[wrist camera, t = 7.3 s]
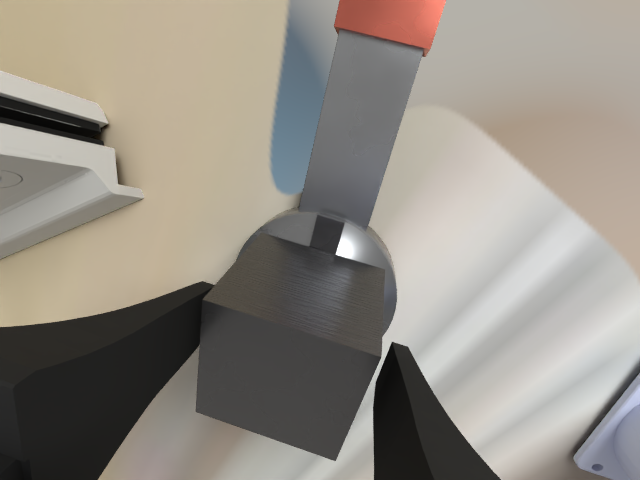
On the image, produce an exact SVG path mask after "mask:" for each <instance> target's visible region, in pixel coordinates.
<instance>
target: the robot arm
mask: <svg viewBox="0 0 640 480" xmlns="http://www.w3.org/2000/svg"><path fill="white" fill-rule="evenodd" d="M214 286H215V285H213V284H209V283H206V282H203V281H202V282H199V283H196V284H193V285H190V286H187V287H185V288H182V289H180V290H177V291H174V292H171V293H169V294H166V295H163V296H160V297H158V298H155V299H152V300H149V301H145V302H142V303H139V304H136V305H133V306H130V307H126V308H123V309H119V310H115V311H111V312H107V313H103V314H98V315H94V316H88V317H83V318H77V319H71V320H66V321H59V322H52V323H44V324H35V325H25V326H14V327H0V480H98V478H99V477H100V475H101V474H102V472H103V471H104V469H105V468H106V466H107V465H108V463H109V462H110V460H111V458H112V457H113V455H114V454H115V452H116V451H117V449H118V448H119V447H120V445H121V444H122V442H123V441H124V439H125V438H126V436H127V435H128V433H129V432H130V430H131V429H132V428H133V426H134V425H135V423H136V422H137V421H138V419H139V418H140V416H141V415H142V414H143V412H144V411H145V409H146V408H147V407H148V405H149V404H150V403H151V401H152V400H153V399H154V398H155V396H156V395H157V394H158V393H159V391H160V390H161V389H162V388H163V387H164V386H165V385H166V383H167V382H168V381H169V380H170V379H171V378H172V376H173V375H174V374H175V373H176V372H177V371H178V370H179V368H180V367H181V366H182V365H183V364H184V363H185V362H186V360H187V359H188V358H189V357H190V356H191V355H192V353H193V352H194V351H195V350H196V349H197V347H198V346H199V344H200V332H201V315H202V299H203V298H204V297H205V296H206V295H207V294H208V293H209V291H210V290H211V289H212V288H213V287H214ZM373 430H374V480H501V479H500V478H499V477H498V476H497V475H496V474H495V473H494V472H493V471H492V470H491V468H490V467H489V466H488V465H487V464H486V463H485V462H484V460H483V459H482V458H481V457H480V456H479V455H478V454H477V452H476V451H475V450H474V449H473V448H472V446H471V445H470V444H469V443H468V442H467V440H466V439H465V438H464V436H463V435H462V434H461V432H460V431H459V430H458V428H457V427H456V426H455V425H454V423H453V422H452V420H451V419H450V418H449V416H448V415H447V413H446V412H445V410H444V409H443V407H442V406H441V404H440V403H439V401H438V399H437V398H436V396H435V395H434V393H433V391H432V390H431V388H430V386H429V385H428V383H427V381H426V379H425V378H424V376H423V374H422V372H421V370H420V369H419V367H418V365H417V363H416V361H415V359H414V357H413V356H412V354H411V352H410V350H409V348H408V347H407V346H403V345H400V344H397V343H394V342H392V343H391V346H390V348H389V351H388V353H387V356H386V358H385V361H384V363H383V366H382V368H381V371H380V373H379V376H378V378H377V381H376V386H375V395H374V405H373ZM573 458H574V461H575V463H576V465H577V466H578V467H579V468H580V469H582V470H585V471H588V472H591V473H594V474H597V475H600V476H603V477H606V478H609V479H612V480H640V373H639V374H638V376H637V377H636V378H635V380H634V381H633V382H632V383H631V385H630V386H629V387H628V388H627V390H626V391H625V392H624V393H623V395H622V396H621V397H620V398H619V400H618V401H617V402H616V403H615V405H614V406H613V407H612V408H611V410H610V411H609V412H608V414H607V415H606V416H605V417H604V419H603V420H602V421H601V422H600V424H599V425H598V426H597V427H596V429H595V430H594V431H593V432H592V434H591V435H590V436H589V437H588V439H587V440H586V441H585V442H584V444H583V445H582V446H581V448H580V449H579V450H578V451H577V453H576V454H575V455H574V457H573Z"/></svg>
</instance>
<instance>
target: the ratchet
mask: <svg viewBox="0 0 640 480" xmlns="http://www.w3.org/2000/svg"><path fill="white" fill-rule="evenodd" d="M445 2H446V0H340V1H339V6H338V10H337V15H336V20H335V24H334V27H335V29H336V31H337V33H338V39H337V44H336V48H335V52H334V57H333V61H332V66H331V70H330V74H329V79H328V84H327V88H326V92H325V96H324V101H323V105H322V110H321V114H320V119H319V123H318V127H317V132H316V136H315V140H314V145H313V149H312V153H311V158H310V162H309V167H308V171H307V175H306V180H305V184H304V189H303V193H302V197H301V202H300V206H299V207H297V208H293V209H290V210H287V211H284V212H282V213H280V214H278V215H276V216H275V217H273V218H272V219H270V220H269V221H268V222H267V223H265V224H264V225H263V226H262V227H261V228H260V229H258V230H257V231H256V232H255V233H254V234H253V235H252V236H251V237H250V238H249V239H248V240H247V242H246V243H245V244H244V246H243V247H242V249H241V251H240V253H239V255H238V258H237V260H238V259H239V258H240V256H241V255H242V254H243V253H244V252H245V251H246V250H247V248H248V247H249V246H250V245H251V244H252V243H253V242H254V241H255V239H256V238H257V237H258V236H259V235H260V234H261V233H265V234H269V235H272V236H275V237H279V238H282V239H285V240H289V241H292V242H295V243H299V244H302V245H305V246H309V247H312V248H315V249H319V250H322V251H325V252H329V253H332V254H335V255H339V256H342V257H345V258H349V259H352V260H356V261H359V262H362V263H366V264H369V265H372V266H376V267H379V268H382V269H385V286H384V308H383V331H382V336H383V335H384V334H385V332H386V331H387V329H388V328H389V326H390V324H391V321H392V319H393V316H394V313H395V309H396V302H397V289H396V279H395V271H394V265H393V262H392V259H391V256H390V254H389V252H388V249H387V247H386V246H385V244H384V243H383V241H382V240H381V238H380V237H379V236H378V235H377V234H376V232H375V231H374V230H373V229H372V228H370V227H369V226H368V224H369V221H370V218H371V215H372V211H373V208H374V205H375V202H376V199H377V196H378V193H379V189H380V186H381V183H382V180H383V177H384V174H385V171H386V167H387V164H388V161H389V158H390V155H391V152H392V148H393V145H394V142H395V139H396V136H397V133H398V130H399V126H400V123H401V120H402V117H403V114H404V111H405V107H406V104H407V101H408V98H409V95H410V92H411V88H412V85H413V82H414V79H415V76H416V73H417V70H418V67H419V63H420V60H421V57H422V56H423V57H426V55H427V53H428V52H429V50H430V48H431V45H432V42H433V39H434V36H435V32H436V30H437V27H438V23H439V20H440V17H441V14H442V11H443V8H444V5H445ZM237 260H236V261H237Z"/></svg>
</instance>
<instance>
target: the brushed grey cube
mask: <svg viewBox="0 0 640 480" xmlns="http://www.w3.org/2000/svg"><path fill="white" fill-rule="evenodd" d="M384 286H385V269H382V268H379V267H376V266H372V265H369V264H366V263H362V262H359V261H356V260H352V259H349V258H345V257H342V256H339V255H335V254H332V253H329V252H325V251H322V250H319V249H315V248H312V247H309V246H305V245H302V244H299V243H295V242H292V241H289V240H285V239H282V238H279V237H275V236H272V235H269V234H265V233H261V234H260V235H259V236H258V237H257V238H256V239H255V241H254V242H253V243H252V244H251V245H250V246H249V247H248V248H247V250H246V251H245V252H244V253H243V254H242V255H241V256H240V258H239V259H238V260H237V261H236V262H235V263H234V264H233V265H232V267H231V268H230V269H229V270H228V271H227V272H226V273H225V275H224V276H223V277H222V278H221V279H220V280H219V281H218V282H217V284H216V285H215V286H214V287H213V288H212V289H211V290H210V291H209V293H208V294H207V295H206V296H205V297H204V298H203V299H202V315H201V332H200V349H199V366H198V383H197V400H196V412H198V413H201V414H203V415H206V416H209V417H212V418H215V419H218V420H220V421H223V422H226V423H229V424H232V425H235V426H237V427H240V428H243V429H246V430H249V431H252V432H254V433H257V434H260V435H263V436H266V437H269V438H271V439H274V440H277V441H280V442H283V443H286V444H289V445H291V446H294V447H297V448H300V449H303V450H306V451H308V452H311V453H314V454H317V455H320V456H323V457H325V458H328V459H331V460H334V461H336V459H337V456H338V454H339V452H340V450H341V447H342V445H343V443H344V440H345V438H346V436H347V434H348V431H349V429H350V427H351V425H352V422H353V420H354V418H355V416H356V413H357V411H358V409H359V407H360V404H361V402H362V400H363V397H364V395H365V393H366V391H367V388H368V386H369V384H370V382H371V379H372V377H373V375H374V373H375V370H376V368H377V366H378V364H379V361H380V359H381V354H382V331H383V308H384Z"/></svg>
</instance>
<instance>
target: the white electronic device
mask: <svg viewBox="0 0 640 480" xmlns="http://www.w3.org/2000/svg"><path fill="white" fill-rule="evenodd" d="M107 124H108V121H107V119H106V116H105V114H104V112H103V110H102V109H101V108H100V107H99V105H98V104H97V103H95V102H92V101H89V100H86V99H83V98H80V97H78V96H75V95H72V94H69V93H66V92H63V91H60V90H57V89H54V88H51V87H48V86H45V85H42V84H39V83H36V82H33V81H30V80H27V79H24V78H21V77H18V76H15V75H12V74H9V73H6V72H3V71H0V259H2V258H4V257H7V256H9V255H11V254H14V253H16V252H18V251H21V250H23V249H25V248H28V247H30V246H32V245H35V244H37V243H39V242H42V241H44V240H47V239H49V238H51V237H54V236H56V235H58V234H61V233H63V232H65V231H68V230H70V229H72V228H75V227H77V226H80V225H82V224H84V223H87V222H89V221H91V220H94V219H96V218H98V217H101V216H103V215H105V214H108V213H110V212H112V211H115V210H117V209H120V208H122V207H124V206H127V205H129V204H131V203H134V202H136V201H138V200H141V199H143V198H144V195H143V192H142V190H141V189H140V188H135V187H129V186H124V185H119V184H118V180H117V169H116V158H115V148H111V147H106V146H104V142H103V141H101V140H97V139H92V138H91V137H93V136H95V135H97V134H99V133H101V131H100V128H101V127H103V126H105V125H107Z"/></svg>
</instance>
